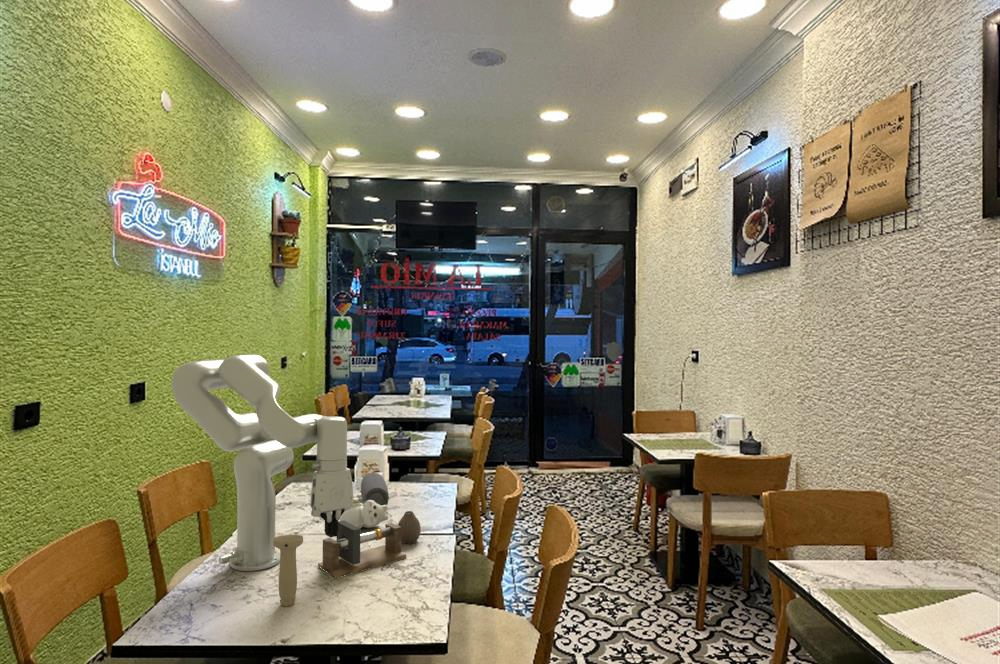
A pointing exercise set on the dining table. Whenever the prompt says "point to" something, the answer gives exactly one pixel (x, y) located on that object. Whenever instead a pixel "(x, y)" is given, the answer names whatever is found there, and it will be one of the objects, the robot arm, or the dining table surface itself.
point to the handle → (287, 567)
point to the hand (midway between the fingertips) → (331, 535)
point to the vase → (409, 528)
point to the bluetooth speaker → (374, 489)
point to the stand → (362, 555)
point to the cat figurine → (365, 514)
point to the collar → (349, 542)
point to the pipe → (368, 536)
